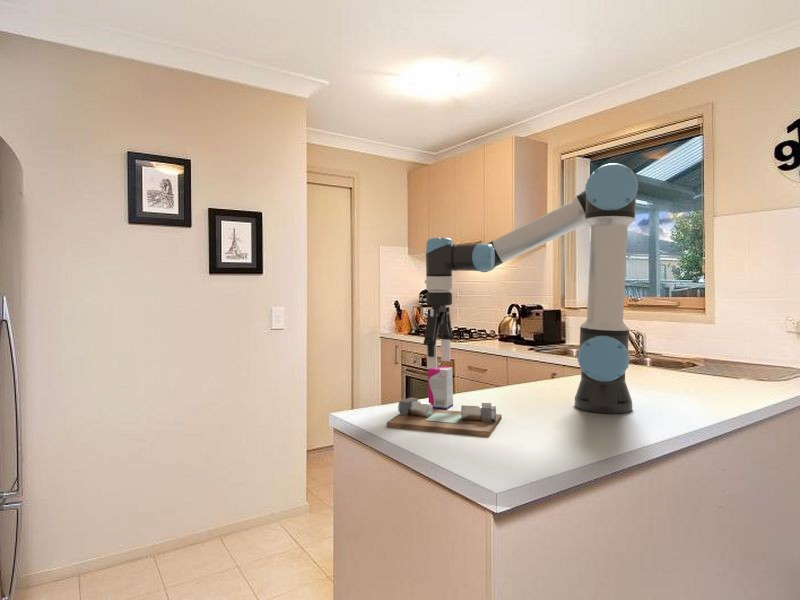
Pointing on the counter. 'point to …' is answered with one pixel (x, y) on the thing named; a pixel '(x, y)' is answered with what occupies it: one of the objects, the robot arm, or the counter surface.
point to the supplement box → (440, 387)
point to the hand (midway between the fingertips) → (439, 364)
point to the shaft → (414, 408)
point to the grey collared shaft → (479, 413)
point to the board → (445, 423)
